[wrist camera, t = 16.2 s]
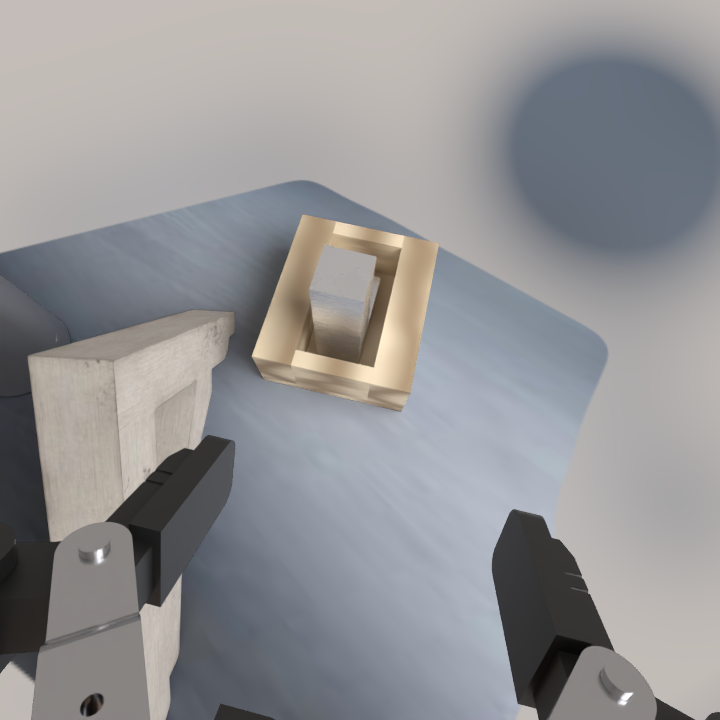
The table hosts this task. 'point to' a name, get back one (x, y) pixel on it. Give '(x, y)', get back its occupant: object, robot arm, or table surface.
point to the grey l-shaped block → (343, 302)
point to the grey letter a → (125, 436)
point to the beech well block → (386, 328)
